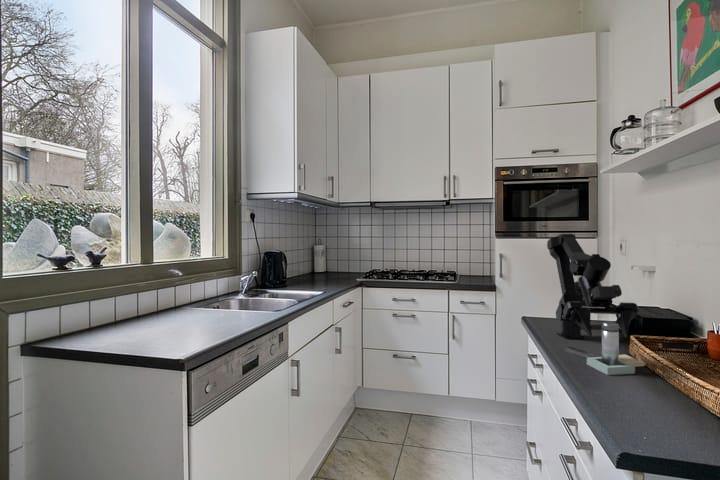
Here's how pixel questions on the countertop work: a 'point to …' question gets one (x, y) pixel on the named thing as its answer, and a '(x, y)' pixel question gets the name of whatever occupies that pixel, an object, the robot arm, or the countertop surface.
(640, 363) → the beige square plate
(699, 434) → the countertop surface
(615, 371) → the socket
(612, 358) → the grey round peg
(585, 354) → the bar
